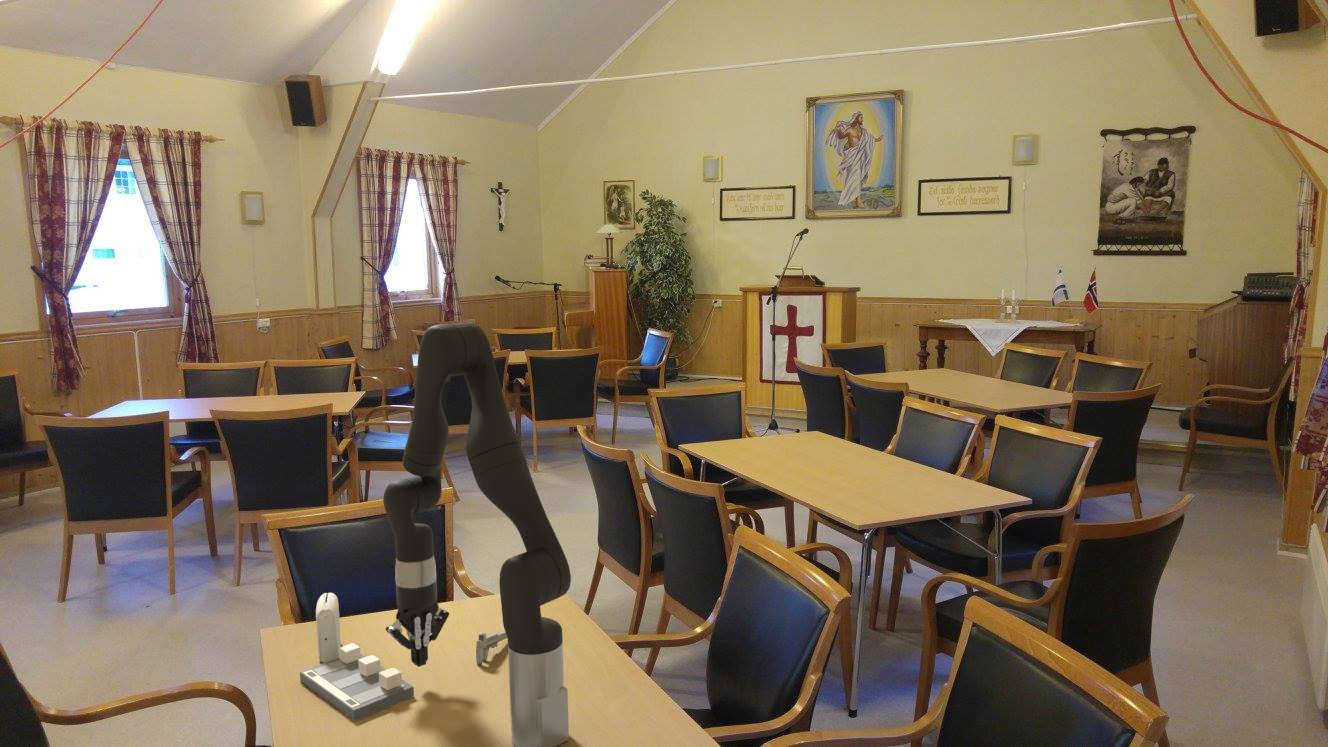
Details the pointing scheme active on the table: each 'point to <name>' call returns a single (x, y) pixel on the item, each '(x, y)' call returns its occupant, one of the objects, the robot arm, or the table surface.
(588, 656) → the table surface
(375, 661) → the middle tab
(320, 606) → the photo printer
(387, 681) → the tab
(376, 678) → the switch board
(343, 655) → the tab
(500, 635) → the caliper
